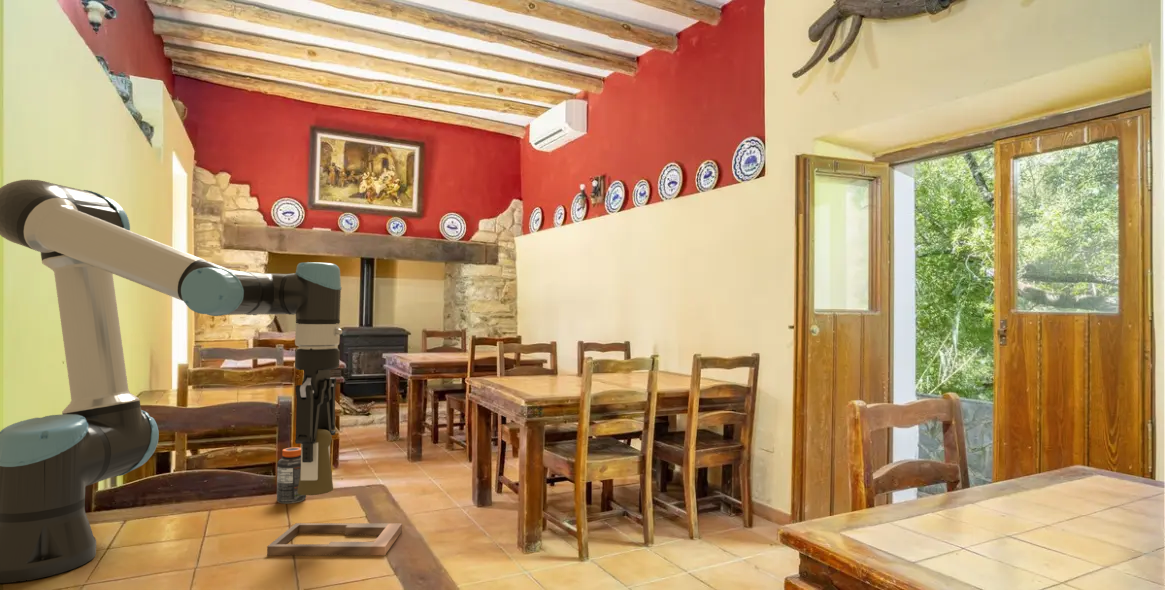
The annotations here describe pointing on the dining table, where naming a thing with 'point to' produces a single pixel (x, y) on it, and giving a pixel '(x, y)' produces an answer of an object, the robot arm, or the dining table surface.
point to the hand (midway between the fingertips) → (315, 475)
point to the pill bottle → (289, 476)
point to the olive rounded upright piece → (319, 468)
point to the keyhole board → (378, 547)
